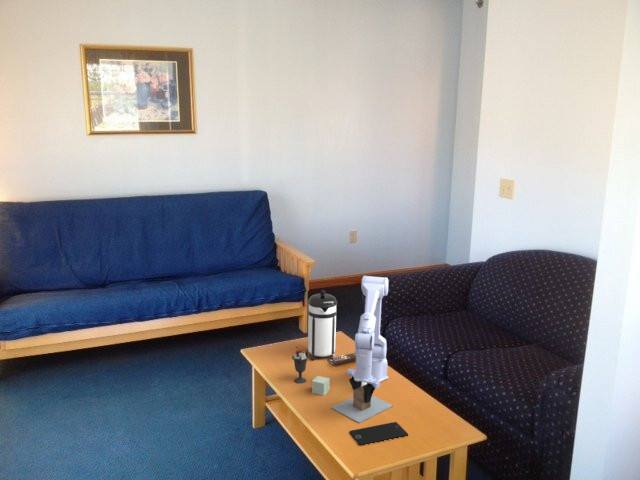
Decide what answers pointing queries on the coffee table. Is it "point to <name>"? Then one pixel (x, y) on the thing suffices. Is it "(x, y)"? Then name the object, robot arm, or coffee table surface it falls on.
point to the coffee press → (322, 325)
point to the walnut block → (360, 399)
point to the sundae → (300, 364)
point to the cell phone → (378, 433)
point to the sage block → (320, 385)
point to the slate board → (358, 415)
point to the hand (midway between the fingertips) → (362, 399)
